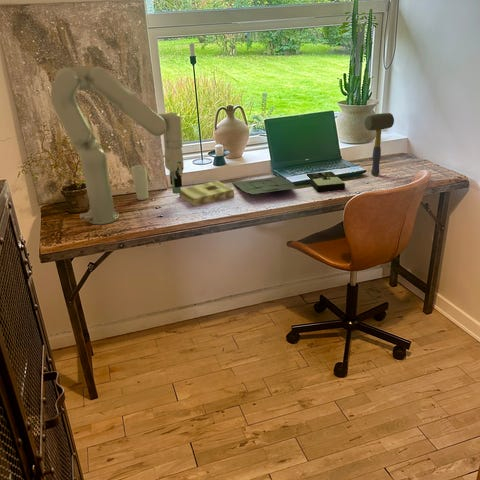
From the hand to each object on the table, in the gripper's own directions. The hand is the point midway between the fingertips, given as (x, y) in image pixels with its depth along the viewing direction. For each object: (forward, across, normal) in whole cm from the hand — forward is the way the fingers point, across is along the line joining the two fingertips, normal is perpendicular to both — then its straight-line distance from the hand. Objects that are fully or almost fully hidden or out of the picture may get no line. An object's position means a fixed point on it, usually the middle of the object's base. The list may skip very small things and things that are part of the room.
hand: (176, 185), depth 207 cm
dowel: (+3, 0, 0) cm, 3 cm away
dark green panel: (+8, +6, +42) cm, 43 cm away
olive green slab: (+9, -2, +15) cm, 18 cm away
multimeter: (+7, +18, +68) cm, 71 cm away
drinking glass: (+10, -18, -10) cm, 23 cm away
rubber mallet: (+6, +22, +96) cm, 99 cm away
